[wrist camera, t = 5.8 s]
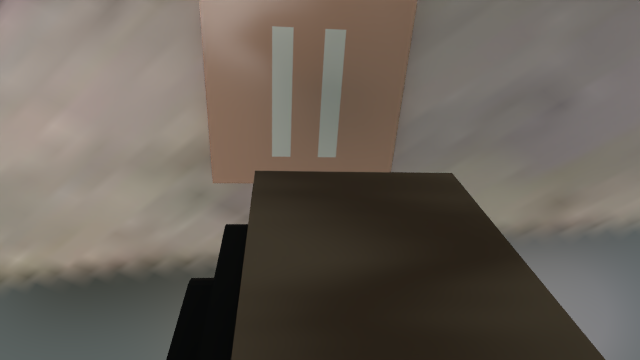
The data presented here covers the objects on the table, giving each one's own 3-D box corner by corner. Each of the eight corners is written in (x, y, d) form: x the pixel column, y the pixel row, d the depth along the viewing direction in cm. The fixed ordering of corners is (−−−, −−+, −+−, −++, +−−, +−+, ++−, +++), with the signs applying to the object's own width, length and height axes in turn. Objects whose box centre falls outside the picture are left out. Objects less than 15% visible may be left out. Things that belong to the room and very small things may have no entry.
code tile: (413, -6, 23) (418, -5, 22) (385, 177, 29) (388, 184, 28) (200, -19, 22) (197, -18, 21) (214, 176, 28) (212, 183, 27)
